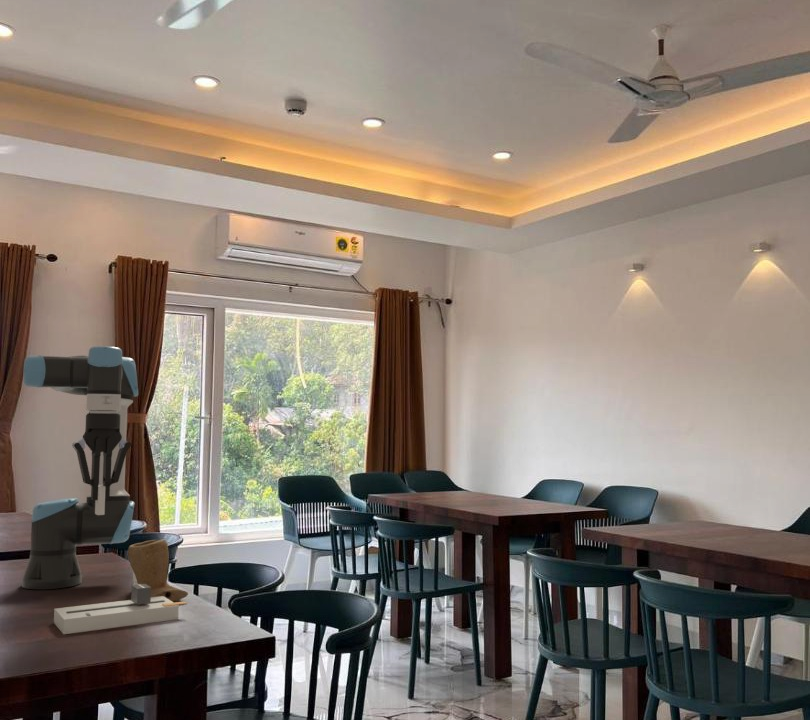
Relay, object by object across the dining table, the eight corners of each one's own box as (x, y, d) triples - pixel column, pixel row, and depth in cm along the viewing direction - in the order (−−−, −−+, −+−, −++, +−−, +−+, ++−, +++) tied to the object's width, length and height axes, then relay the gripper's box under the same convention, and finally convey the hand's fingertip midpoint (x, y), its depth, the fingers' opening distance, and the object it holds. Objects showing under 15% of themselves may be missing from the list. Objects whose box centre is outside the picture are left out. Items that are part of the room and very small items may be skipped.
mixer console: (53, 622, 169) (54, 607, 170) (171, 607, 184) (171, 594, 184) (63, 634, 159) (64, 618, 160) (187, 617, 174) (187, 603, 174)
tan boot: (119, 598, 194) (121, 538, 196) (165, 592, 202) (166, 534, 203) (141, 609, 183) (143, 545, 184) (189, 602, 190) (190, 540, 192)
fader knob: (131, 600, 175) (131, 584, 176) (144, 599, 177) (145, 583, 177) (136, 604, 171) (137, 588, 172) (150, 603, 173) (151, 587, 173)
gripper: (77, 412, 172) (73, 518, 171) (136, 412, 180) (132, 514, 178) (70, 412, 178) (66, 514, 177) (127, 412, 186) (124, 510, 184)
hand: (99, 514), depth 177 cm, fingers closed
